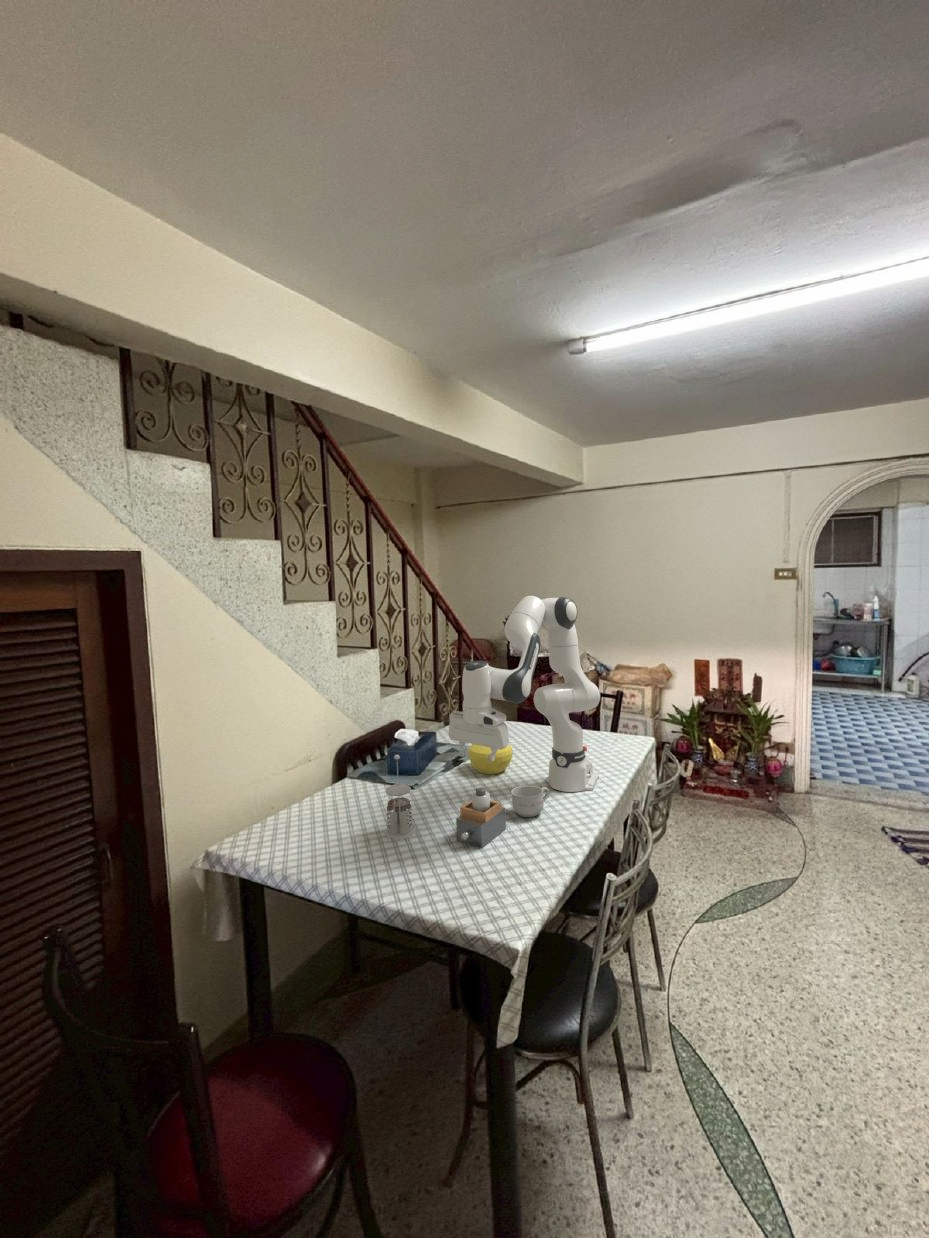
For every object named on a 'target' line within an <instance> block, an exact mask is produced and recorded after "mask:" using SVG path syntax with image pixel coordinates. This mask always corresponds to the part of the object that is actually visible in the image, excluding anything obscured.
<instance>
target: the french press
mask: <svg viewBox="0 0 929 1238" xmlns="http://www.w3.org/2000/svg"><path fill="white" fill-rule="evenodd" d="M393 759H394V760H396V771H397V772H396V774H397V775H396V776H397V777H396V778H399V768H398V767H399V765H398V763H399V762H398V760H399V759H401V756H400V754H395V755H394V756H393ZM410 791H412V787H411V786H409V785H407V784H406V783H395V784H391V785H390V786H388V787H387V788H386V789H385V794H386V795H388V796H392V797H395V798H392V799H390V800H388V801H387V806H386V818H387V819H386V820H387V822H386V823H387V826H386V827H387V828H386V830H385V831H384V836H385V837H386V838H389V839H392V840H403V839H407V838H410V837H412V836H414V835H415V833H416V828H415V827H414V826H413V815H412V814H413V812H412V809H413V808H412V804H411V799H409V798H407V797H401V796H405V795H406V794H409V793H410Z"/></svg>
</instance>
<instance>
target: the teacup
mask: <svg viewBox="0 0 929 1238" xmlns="http://www.w3.org/2000/svg"><path fill="white" fill-rule="evenodd" d="M544 791H545V794H544ZM510 793H511V802H512V803H511V804H512V809H513V810H514V811H513V812H515V813H516V814H518V815H519V816H520V817H523V818H534V817H536V816H538V815H539V814H540V813H541V812H542V811H543V809H544V802H545V801H546V800H547V799H548V798H549V797H550V789H549V788H548V787H546V786H542V787H540V786H535V785H521V786H517V787H514V788H512V790H511V791H510Z"/></svg>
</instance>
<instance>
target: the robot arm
mask: <svg viewBox="0 0 929 1238" xmlns="http://www.w3.org/2000/svg"><path fill="white" fill-rule="evenodd" d="M578 614H579V613H578V606H577V605H576V603H575V602H574V600H573V599H572V598H571V597H566V596H560V597H547V598H542V599H541V598H539V597H538V596H535V595H527V596H524V597H522V599H521V600H520V601H519V602H518V603H517V605H516V606H515V607H514V609H513V610H512V612H511V613H510V615H509V616H508V619H507V620H506V623H505V625H504V634H505V637H506V639H507V641H508V642H509V643H510V644H511V645H512V646H513V647H515V648H517V649H519V650H521V651H522V653H521V656H520V660H519V664H518V667H517V668H514V669H502V668H498V667H497V668H496V667H494V666H491V665H489V663H488V662H487V661H485V660H474V661H469V662H467V664H465V665H464V667H463V671H462V683H461V687H462V688H461V691H462V695H463V701H462V711H460V710H459V711H458V710H453V711H452V712H450V714H449V725H448V737H449V739H450V740H451V741H457V742H458V746H459V747H460V749H461V755H462V756H466V757H467V756H468V755H469V748H468V747H467V746H466V745H467V744H470V745H472V744H476V745H481V746H486V747H490V748H491V751H492V753H491V754H490V755H488V760H489V761H494V760H495V754H496V752H497V750H498V749H501V750H502V749H504V748H505V747H507V746H508V744H510V742H509V741H510V739H509V738H510V737H509V736H510V735H509V728H508V725H507V723H505V722H506V721H507V715H506V714H505V713H503V712H501V711H499V710H497V709H496V708H494V707H493V706H492V701H491V699H494V700H500V701H505V702H508V703H509V702H510V703H513V704H515V705H518V704H521V703H523V702H525V701H526V700H527V698H528V697H530V694H531V691H532V687H533V686H532V685H533V678H534V673H535V669H536V666H537V663H538V660H539V654H540V651H541V643H542V642H541V639H540V636H539V634H538V632H539V631H540V630H548V637H547V638H548V639H547V640H548V641H547V642H548V643H547V644H548V659H549V660H548V661H549V666H550V668H551V670H552V671H553V672H555V673H557V674H559V675H561V676H562V677H563V679H564V683H552V684H548V685H544V686H541V687H538V688H537V689H536V690H535V692H534V696H533V703H534V707H535V709H536V711H538V712H539V713H540V714H542V715H543V716H544V717H545V718H546V719H547V720H548V723H549V724H550V727H551V733H552V748H551V757H552V758H551V759H550V760H549V762H548V776H547V777H545V782H547V783H548V785H549V786H550V787H551V788H552V789H554V790H557V791H560V792H567V793H577V792H582V791H593V790H594V787H595V785H596V784H597V781H598V780H599V775H600V774H598V773H597V772H594V771H593V770H594V769H593V763H592V761H590V760H589V759H588V758H587V757H586V752H587V750H588V746H587V745H584V733H583V728H582V726H581V725H580V724H579V723H577V722H575V721H573V720H570V715H569V714H570V713H577V712H586V711H588V710H589V711H590V710H591V709H594V708H596V707H598V705H599V703H600V700H601V692H600V690H599V688H598V686H597V685H596V684H595V683H594V682H592V681H591V680H590V679H589V678H588V677H587V676H586V674H585V672H584V670H583V668H582V666H581V665H582V664H581V658H580V651H579V650H580V649H579V648H580V647H579V640H578V638H579V637H578V633H577V629H576V625H575V623H576V621H577V618H578ZM466 743H467V744H466Z"/></svg>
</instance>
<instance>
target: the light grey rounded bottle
mask: <svg viewBox="0 0 929 1238" xmlns="http://www.w3.org/2000/svg"><path fill="white" fill-rule="evenodd" d="M490 795H491V794H490V792H489V791H486V788H485V787H477V788H475V791H473V792H472V793H471V800H472V809H474V810H477V811H481V812H486V811H487V810H489V809H490V800H491V796H490Z"/></svg>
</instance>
